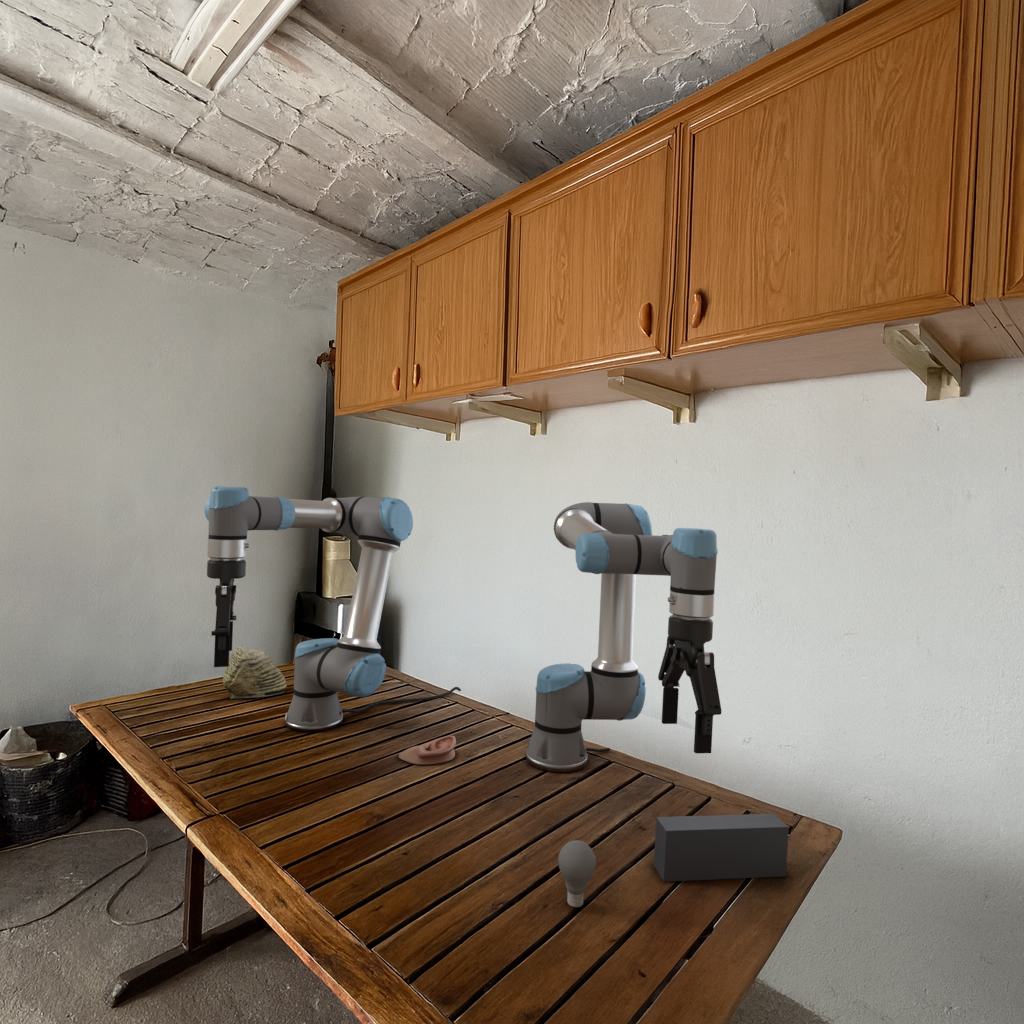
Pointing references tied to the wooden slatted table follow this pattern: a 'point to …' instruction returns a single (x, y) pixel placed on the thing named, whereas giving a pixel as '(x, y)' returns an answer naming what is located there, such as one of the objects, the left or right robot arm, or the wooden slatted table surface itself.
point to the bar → (720, 847)
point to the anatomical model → (431, 751)
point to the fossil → (252, 674)
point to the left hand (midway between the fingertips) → (223, 658)
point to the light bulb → (576, 869)
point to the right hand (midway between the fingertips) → (684, 737)
